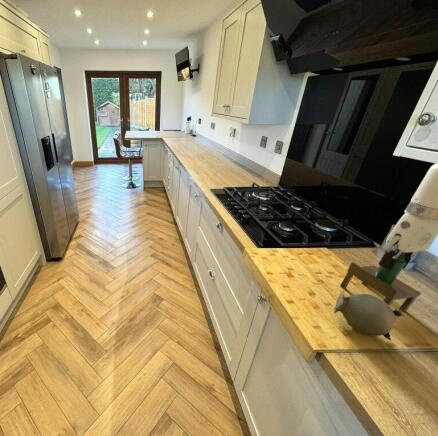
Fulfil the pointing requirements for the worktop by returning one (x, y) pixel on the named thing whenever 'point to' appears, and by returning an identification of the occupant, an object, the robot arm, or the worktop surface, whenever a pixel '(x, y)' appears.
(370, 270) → the rack
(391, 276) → the bottle
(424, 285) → the worktop surface
